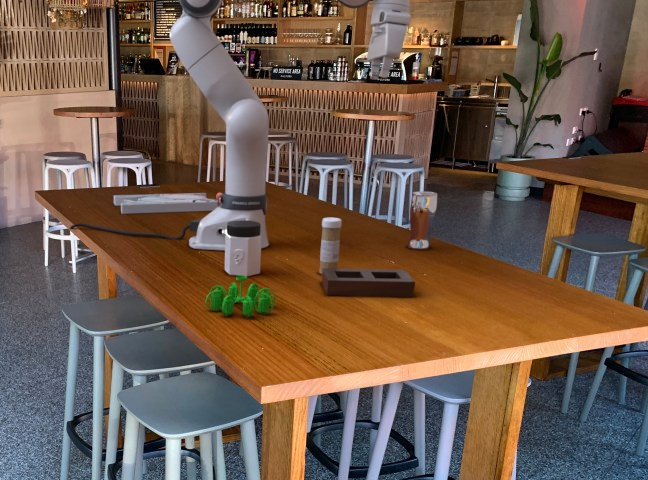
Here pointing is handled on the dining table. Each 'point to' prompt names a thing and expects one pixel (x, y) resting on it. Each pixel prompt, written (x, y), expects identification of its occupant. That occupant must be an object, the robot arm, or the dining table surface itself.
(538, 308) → the dining table surface
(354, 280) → the holder
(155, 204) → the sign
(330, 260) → the sprinkles bottle
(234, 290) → the chandelier
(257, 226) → the jar
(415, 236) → the beer glass
